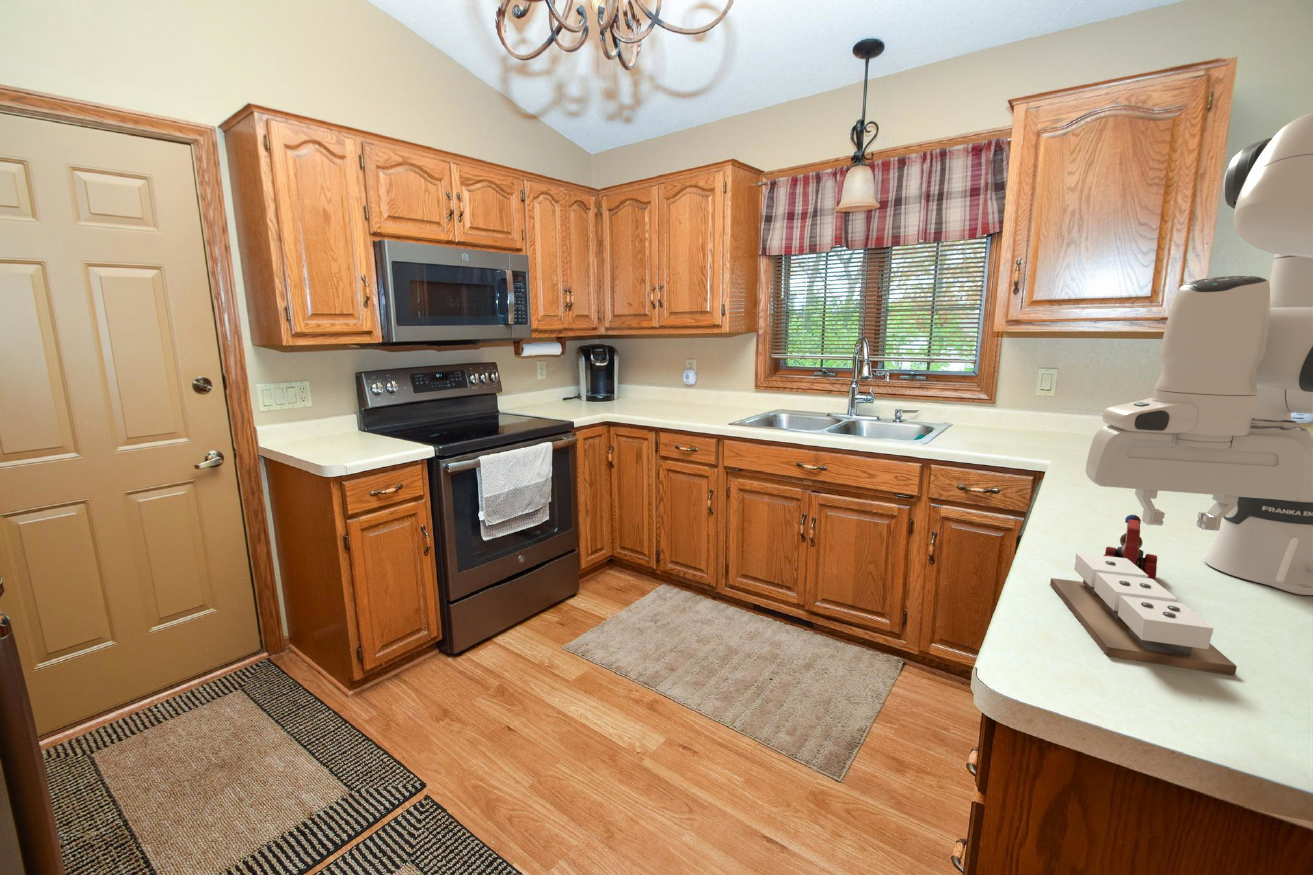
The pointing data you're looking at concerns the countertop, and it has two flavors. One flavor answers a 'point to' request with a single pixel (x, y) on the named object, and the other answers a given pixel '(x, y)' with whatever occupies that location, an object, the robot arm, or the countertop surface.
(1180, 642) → the three-pip tile
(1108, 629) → the walnut board
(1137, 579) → the two-pip tile
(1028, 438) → the countertop surface
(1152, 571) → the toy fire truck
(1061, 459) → the countertop surface
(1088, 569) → the one-pip tile
